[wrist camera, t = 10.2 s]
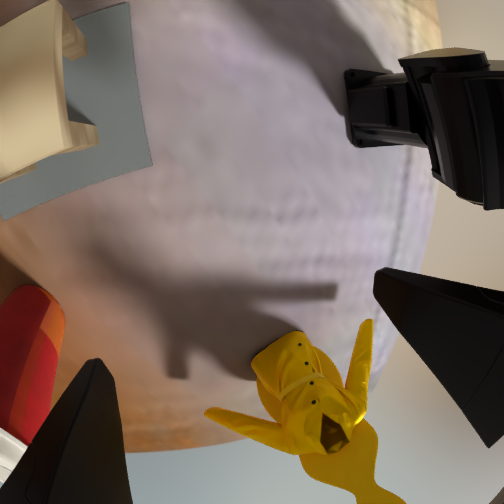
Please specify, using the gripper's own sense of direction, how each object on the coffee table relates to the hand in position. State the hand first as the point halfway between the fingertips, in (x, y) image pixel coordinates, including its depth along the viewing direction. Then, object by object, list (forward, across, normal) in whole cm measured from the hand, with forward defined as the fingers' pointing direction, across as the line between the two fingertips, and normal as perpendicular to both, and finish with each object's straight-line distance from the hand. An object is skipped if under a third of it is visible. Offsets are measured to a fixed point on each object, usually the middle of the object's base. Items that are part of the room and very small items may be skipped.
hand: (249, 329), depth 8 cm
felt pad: (+12, +8, -10) cm, 18 cm away
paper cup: (+12, +15, +4) cm, 20 cm away
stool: (+12, +8, -10) cm, 17 cm away
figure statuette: (+12, -5, +16) cm, 21 cm away
